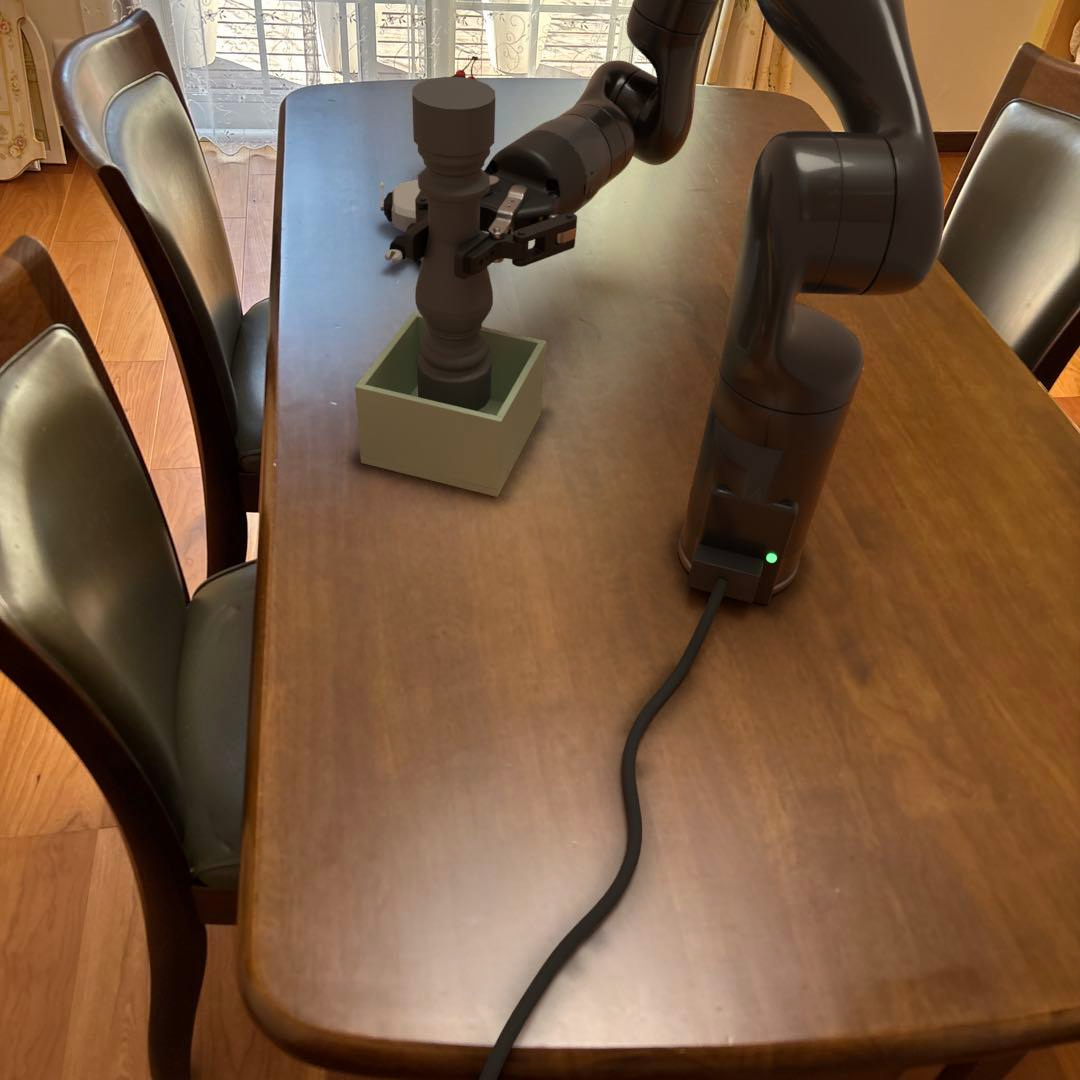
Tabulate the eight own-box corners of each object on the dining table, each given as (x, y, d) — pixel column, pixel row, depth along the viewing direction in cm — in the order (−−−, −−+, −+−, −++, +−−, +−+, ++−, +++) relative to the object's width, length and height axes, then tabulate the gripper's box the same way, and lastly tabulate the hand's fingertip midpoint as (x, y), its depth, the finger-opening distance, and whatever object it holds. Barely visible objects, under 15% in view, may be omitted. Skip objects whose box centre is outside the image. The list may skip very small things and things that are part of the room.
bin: (497, 497, 84) (501, 421, 79) (360, 463, 86) (354, 386, 81) (540, 414, 93) (546, 340, 87) (415, 384, 95) (413, 311, 89)
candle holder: (505, 399, 86) (518, 99, 69) (444, 424, 83) (441, 118, 66) (463, 364, 90) (465, 69, 72) (403, 387, 87) (390, 85, 69)
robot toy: (496, 284, 110) (487, 210, 120) (497, 247, 107) (488, 175, 117) (381, 284, 109) (381, 209, 119) (379, 246, 106) (380, 173, 115)
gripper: (479, 108, 86) (352, 182, 75) (630, 153, 81) (518, 239, 70) (477, 193, 91) (358, 274, 80) (619, 240, 86) (514, 332, 75)
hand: (434, 257), depth 75 cm, fingers closed on candle holder, 3 cm apart
